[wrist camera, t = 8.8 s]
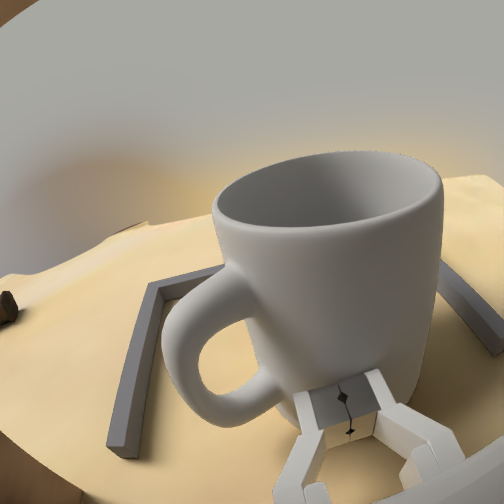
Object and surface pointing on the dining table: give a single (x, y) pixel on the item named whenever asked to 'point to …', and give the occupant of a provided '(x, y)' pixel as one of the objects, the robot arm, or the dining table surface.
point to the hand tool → (7, 307)
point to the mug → (315, 280)
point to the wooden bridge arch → (5, 450)
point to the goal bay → (147, 325)
